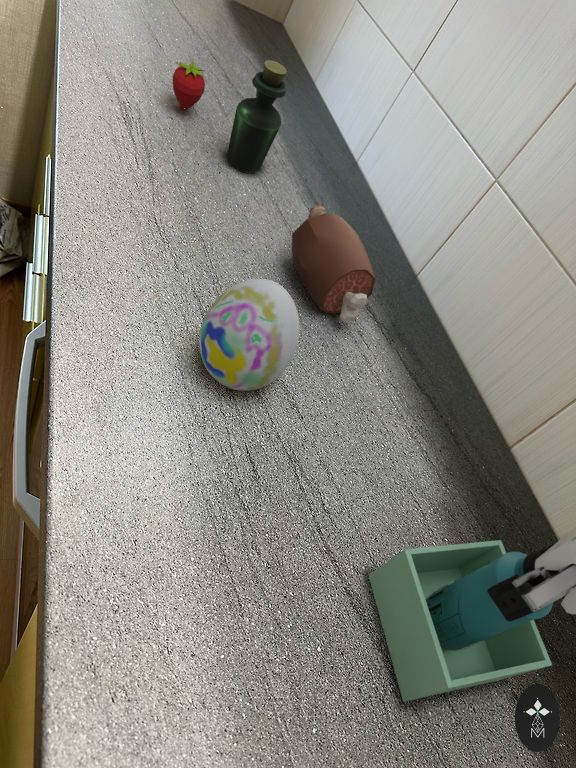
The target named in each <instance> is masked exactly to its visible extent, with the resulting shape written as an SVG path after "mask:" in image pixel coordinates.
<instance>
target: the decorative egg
mask: <svg viewBox="0 0 576 768" xmlns="http://www.w3.org/2000/svg"><path fill="white" fill-rule="evenodd" d="M199 331H200V332H199V337H198V338H199V339H198V345H199V353H200V357H201V361H202V363H203V365H204V367H205V369H206V371H207V372H208V373H209V374H210V376H211V377H212V378H213V379H214V380H215V381H216V382H217V383H219V384H220V385H222V386H224V387H226V388H227V389H231V390H236V391H242V392H248V391H254V390H259V389H262V388H264V387H266V386H269V385H270V384H272V383H274V382H275V381H276V380H277V379H279V378H280V377H281V376H282V375H283V374H284V372H285V371H286V370H287V369H288V367H289V366H290V365H291V362H292V360H293V359H294V356H295V354H296V352H297V348H298V345H299V338H300V317H299V313H298V309H297V307H296V304H295V302H294V299H293V298H292V296H291V295H290V293H289V292H288V291H287V290H286V289H285V288H284V287H283V286H282V285H281V284H280V283H278V282H276V281H273V280H271V279H266V278H252V279H247V280H244V281H241V282H238V283H236V284H234V285H232V286H231V287H229V288H227V289H226V290H225V291H223V293H222V294H221V295H219V297H218V298H216V300H215V301H213V303H212V304H211V306H210V307H209V308H208V310H207V312H206V314H205V316H204V318H203V321H202V325H201V327H200V330H199Z"/></svg>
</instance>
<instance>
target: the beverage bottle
mask: <svg viewBox="0 0 576 768" xmlns="http://www.w3.org/2000/svg"><path fill="white" fill-rule="evenodd" d="M548 549H550V548H546V547H543V548H541V549H538V550H536V551H532V552H530V553H528V554H526V553H524V552H520V551H508V552H506V553H505V554H504V555H502V556H501V557H500V558H498V559H496V560H494V561H493V562H492V561H491V563H487V565H486V564H485V566H483V567H482V566H481V567H480V566H479V567H480V568H479V569H477V568H476V569H477V570H475V571H474V572H472V573H471V572H470V574H468V575H466V576H465V577H462V578H461V579H459V580H456V582H455V581H454V583H452V584H449V585H448V584H447V586H446V585H445V588H444V587H441V588H443V589H441V588H440V589H441V590H440V589H438V590H436V591H435V592H436V593H435V592H434V593H433V594H432V595H431V594H430V595H431V596H430V595H429V597H428V598H427V599H426V603H427V606H428V609H429V612H430V615H431V619H432V622H433V625H434V628H435V631H436V634H437V637H438V640H439V643H440V647H441V648H443V649H445V650H459V649H461V650H460V651H462V648H465V647H467V646H468V648H469V646H470V645H471V647H472V646H473V645H472V644H475V643H476V644H477V642H479V643H480V641H481V642H483V641H482V640H485V639H486V641H487V638H490V637H491V639H492V636H495V635H496V636H497V634H499V633H501V632H503V631H506V630H509V629H511V628H514V627H516V626H519V625H521V624H524V623H527V622H529V621H532V620H534V621H535V620H538V619H542V618H544V617H546V616H547V615H548V614H549V613H550V612H551V611H552V609H553V605H554V602H552V603H551V604H549V605H547V606H545V607H543V608H541V609H540V610H539V611H537V612H534V613H532V614H529V615H527V616H524V617H521V618H519V619H516V620H514V621H511V622H509V621H507V620H506V619H505V618H504V616H503V615H502V613H501V612H500V610H499V609H498V607H497V606H496V604H495V603H494V601H493V600H492V599H491V597H490V596H489V594H488V592H487V590H488V589H489V588H490V587H491V586H493V585H495V584H497V583H499V582H501V581H503V580H506V579H508V578H510V577H512V576H514V575H516V574H518V576H519V577H520V576H522V575H524V574H525V573H527V572H529V571H531V570H533V569H534V568H535V561H536V559H537V558H539V557H540V556H541V555H542V554H543V553H545V552H546V551H547V550H548ZM551 572H552V573H553V574H556V573H558V572H559V571H558V570H551ZM543 581H545V580H544V579H543V578H542V576H541V575H539V576H537V577H535V578H534V579H532V580H530V581H528V582H529V583H530V585H531V586H532V587H534V586H537V585H538V584H540V583H542V582H543ZM450 583H451V582H450ZM437 591H438V592H437ZM503 633H504V632H503ZM466 649H467V648H466ZM454 652H457V651H454Z"/></svg>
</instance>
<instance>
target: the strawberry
mask: <svg viewBox="0 0 576 768" xmlns="http://www.w3.org/2000/svg"><path fill="white" fill-rule="evenodd" d="M189 58H190V60H191V61H192V62H191V63H189V65H188V64H187V63H183V62H181V61H180V62H175V65H178V67H177V68H175V70H174V72H173V74H172V77H171V78H172V90H173V93H174V95H175V98H176V100H177V103H178V105H179V107H180V110H182V111H183V112H187V111H188V110H189V109H190V108H192V107H194V106H195V105H196V104H197V103H198V102H199V101H200V100H201V98H202V97H203V95H204V93H205V90H206V80H205V78H204V77H205V76H204V75H203V74H202V73H201V72H206V70H204V69H202V68H200V67H197V66H195V62H194V60H193V58H192V56H189ZM184 108H185V109H184Z"/></svg>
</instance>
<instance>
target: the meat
mask: <svg viewBox="0 0 576 768" xmlns="http://www.w3.org/2000/svg"><path fill="white" fill-rule="evenodd" d="M326 211H327V210H326V209H325V208H324V207H323V206H321V205H320V204H318V205H315V206H313V207H311V208H310V209H309V212H308V218H306V219H305V220H304V221H303V222H302V223H301V224H300V225H299V226H298V227H297V228H296V229H295V230H294V231H293V232H292V233H291V254H292V260H293V266H294V269H295V271H296V273H297V275H298V278H299V279H300V281H301V283H302V285H303V286H304V288H305V289H306V291H307V292H308V294H309V295H310V296H311V298H312V299H313V301H314V302H315V303H316V305H317V306H318V308H319V309H320V310H322V311H323V312H325V313H326V314H339V319H340V320H341V321H342V322H344V323H346V324H348V323H350V322H353V321H356V320H357V317H358V314H359V310H360V309H362V308H363V307H365V306H366V305H367V304H368V298H370V297H371V296H372V294H373V291H374V286H375V281H376V277H375V273H374V271H373V266H372V264H371V261H370V259H369V256H368V254H367V251H366V249H365V245H364V244H363V243H362V240H361V238H360V236H359V235H358V233H357V231H356V230H354V229H353V227H352V226H351V225H350V224H349V223H347V221H346V220H344V219H343V218H342V217H341V216H340V215H339V214H333V213H332V214H331V213H326Z"/></svg>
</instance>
